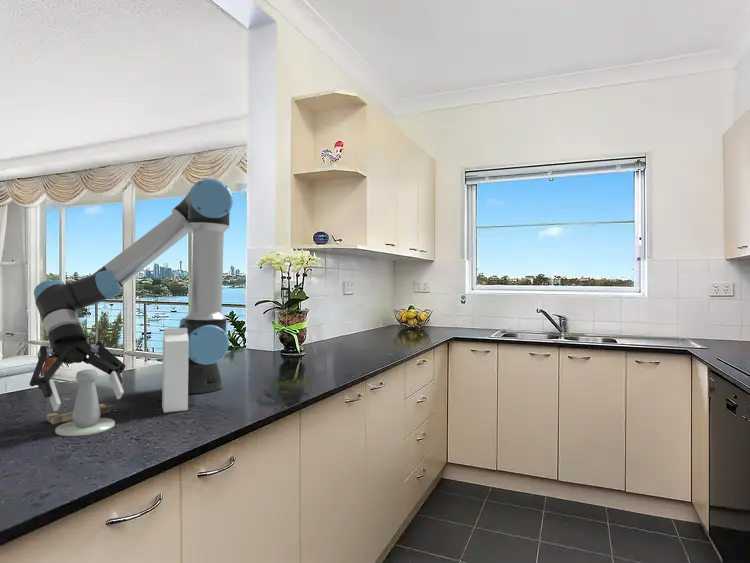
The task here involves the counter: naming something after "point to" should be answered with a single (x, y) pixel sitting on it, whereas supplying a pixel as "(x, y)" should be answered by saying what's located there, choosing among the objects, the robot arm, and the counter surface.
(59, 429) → the disc
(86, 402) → the salt shaker
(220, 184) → the robot arm
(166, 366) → the milk
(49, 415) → the oak holder
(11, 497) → the counter surface
